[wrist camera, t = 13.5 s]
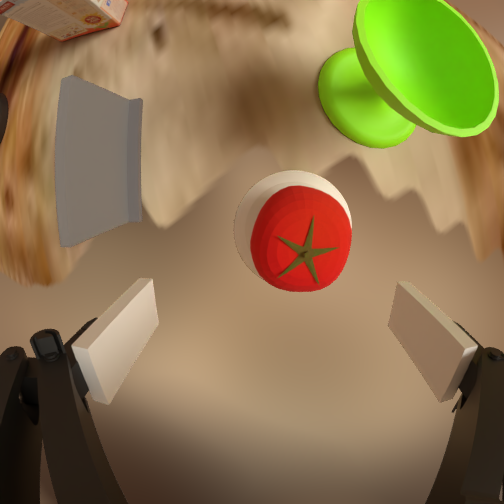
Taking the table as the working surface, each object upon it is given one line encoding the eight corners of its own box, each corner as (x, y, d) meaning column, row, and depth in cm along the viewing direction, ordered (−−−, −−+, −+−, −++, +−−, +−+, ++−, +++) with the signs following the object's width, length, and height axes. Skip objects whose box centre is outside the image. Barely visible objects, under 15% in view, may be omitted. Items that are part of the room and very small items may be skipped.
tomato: (246, 266, 38) (238, 300, 28) (262, 177, 35) (260, 177, 25) (325, 280, 38) (343, 316, 28) (346, 195, 35) (375, 203, 25)
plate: (234, 169, 36) (233, 168, 35) (353, 174, 35) (355, 174, 34) (234, 283, 40) (233, 286, 39) (344, 285, 39) (345, 287, 38)
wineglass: (315, 138, 34) (357, 109, 17) (318, 38, 30) (348, -36, 12) (418, 158, 33) (503, 157, 16) (416, 63, 29) (484, 23, 12)
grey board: (114, 105, 33) (50, 83, 19) (142, 99, 33) (84, 70, 19) (114, 221, 38) (50, 246, 24) (142, 220, 38) (82, 247, 24)
